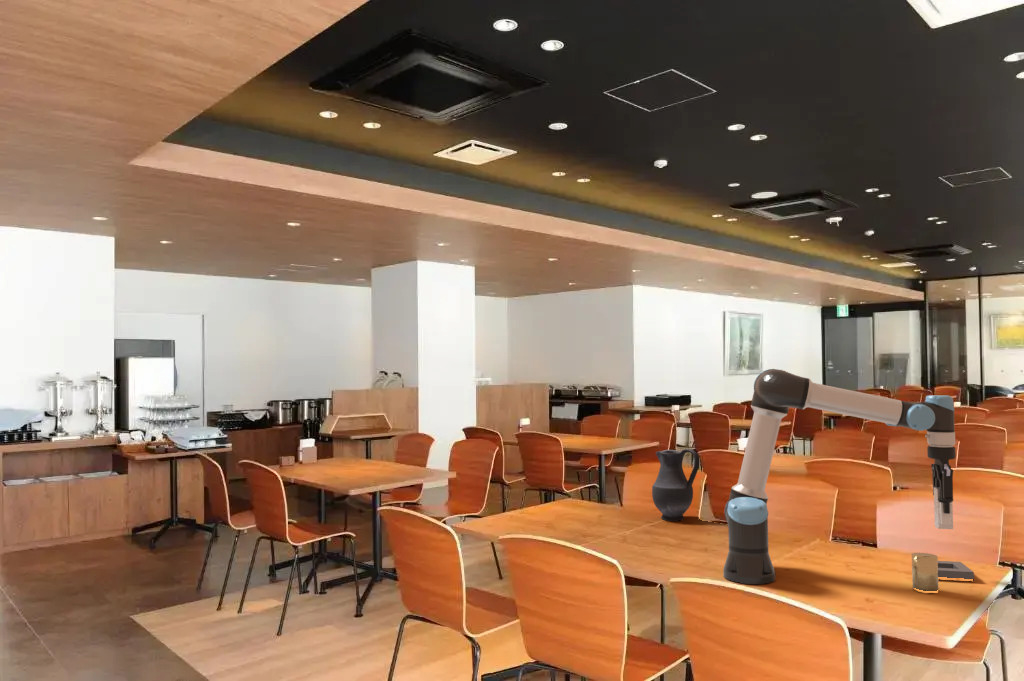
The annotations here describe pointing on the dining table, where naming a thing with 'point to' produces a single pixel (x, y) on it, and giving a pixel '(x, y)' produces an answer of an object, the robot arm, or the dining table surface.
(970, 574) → the bore block
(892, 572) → the dining table surface
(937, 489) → the square bit
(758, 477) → the robot arm
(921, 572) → the round bit
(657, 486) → the pitcher
